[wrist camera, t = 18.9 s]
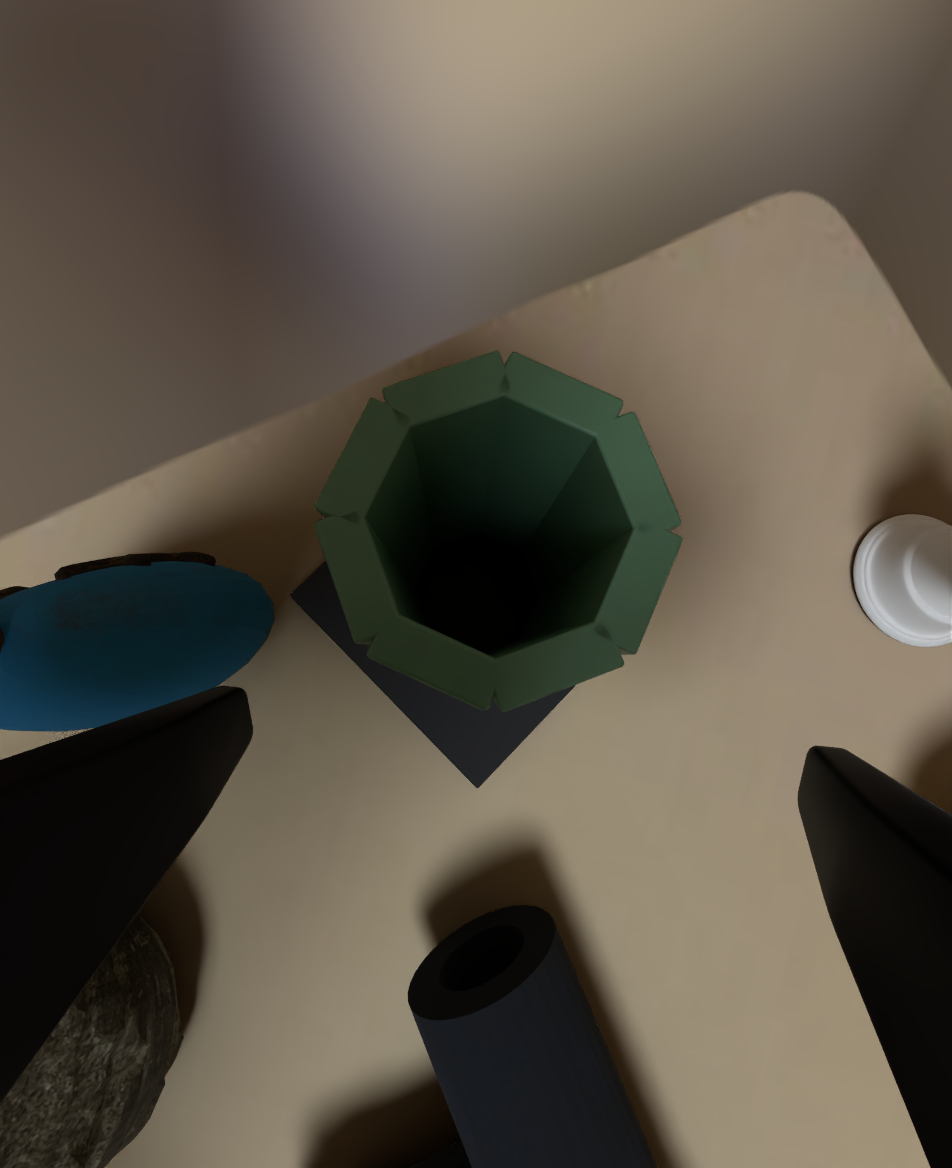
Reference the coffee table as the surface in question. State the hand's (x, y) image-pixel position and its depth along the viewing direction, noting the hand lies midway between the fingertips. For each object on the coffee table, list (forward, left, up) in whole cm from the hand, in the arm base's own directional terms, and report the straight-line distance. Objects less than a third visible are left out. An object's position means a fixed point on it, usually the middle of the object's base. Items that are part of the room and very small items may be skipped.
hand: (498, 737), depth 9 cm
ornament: (-6, +9, -12) cm, 16 cm away
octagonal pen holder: (+3, +2, -11) cm, 12 cm away
